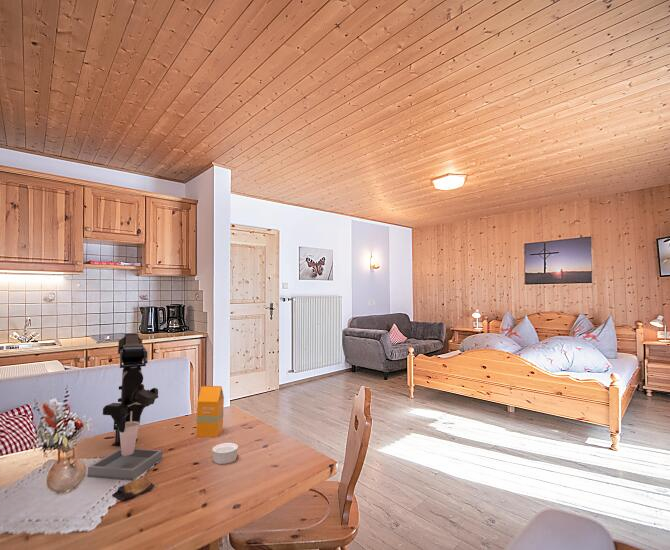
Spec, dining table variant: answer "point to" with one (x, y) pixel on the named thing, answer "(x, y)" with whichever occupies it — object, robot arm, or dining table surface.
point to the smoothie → (129, 437)
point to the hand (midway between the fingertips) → (128, 428)
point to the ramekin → (224, 453)
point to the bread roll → (134, 489)
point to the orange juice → (210, 411)
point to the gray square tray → (125, 464)
